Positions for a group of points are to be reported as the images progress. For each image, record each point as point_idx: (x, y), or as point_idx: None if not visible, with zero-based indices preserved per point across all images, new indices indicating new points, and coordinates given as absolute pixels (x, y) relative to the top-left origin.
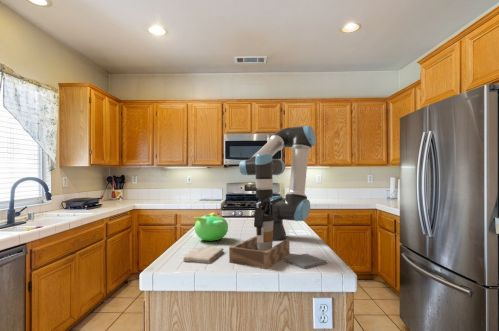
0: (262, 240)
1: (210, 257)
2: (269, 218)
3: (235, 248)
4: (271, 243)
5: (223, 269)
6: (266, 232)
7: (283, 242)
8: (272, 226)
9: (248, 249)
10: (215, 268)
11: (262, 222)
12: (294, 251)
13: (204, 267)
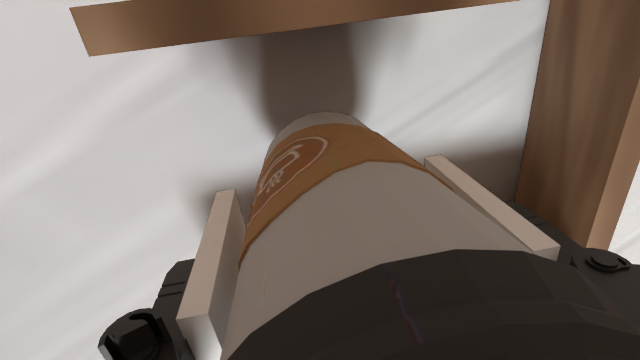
0: (452, 167)
1: None
2: (622, 337)
3: (610, 234)
4: (328, 121)
5: (636, 173)
6: (448, 186)
7: (250, 4)
8: (367, 194)
9: (631, 146)
10: (628, 209)
11: (633, 320)
12: (46, 2)
13: (623, 251)
